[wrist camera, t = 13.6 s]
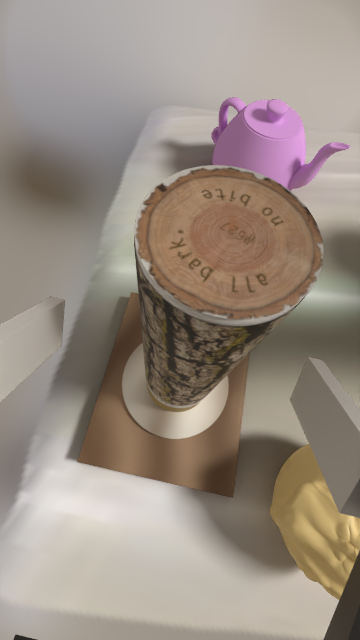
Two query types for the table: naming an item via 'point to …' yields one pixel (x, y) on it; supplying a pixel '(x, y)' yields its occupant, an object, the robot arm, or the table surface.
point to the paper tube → (216, 274)
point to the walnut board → (163, 422)
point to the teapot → (267, 142)
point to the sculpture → (314, 523)
